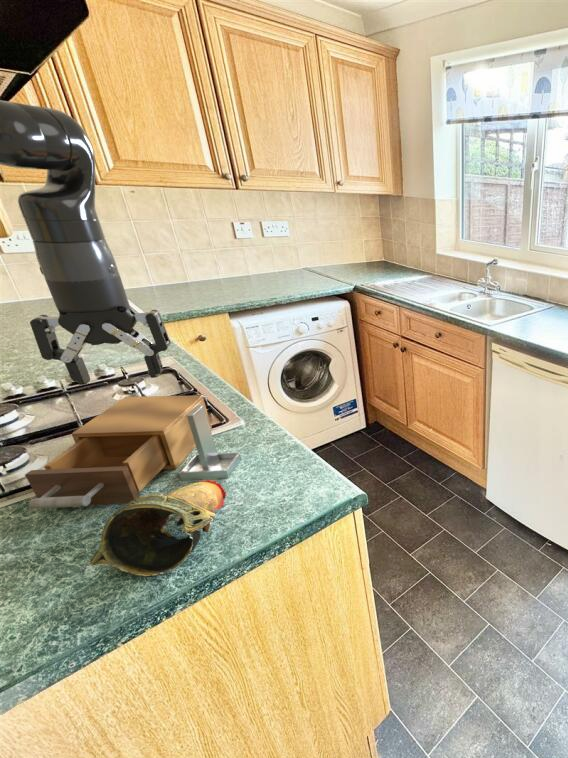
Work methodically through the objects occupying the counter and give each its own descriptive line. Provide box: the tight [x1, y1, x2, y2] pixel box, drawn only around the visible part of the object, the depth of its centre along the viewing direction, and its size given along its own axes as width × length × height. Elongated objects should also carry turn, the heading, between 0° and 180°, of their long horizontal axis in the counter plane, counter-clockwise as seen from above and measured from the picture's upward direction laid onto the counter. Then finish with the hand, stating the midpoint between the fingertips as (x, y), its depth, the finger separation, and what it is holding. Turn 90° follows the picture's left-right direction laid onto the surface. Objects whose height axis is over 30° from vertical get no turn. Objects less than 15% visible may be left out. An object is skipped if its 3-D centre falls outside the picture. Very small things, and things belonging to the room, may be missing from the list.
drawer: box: [24, 435, 169, 510], centre depth 72 cm, size 18×13×7 cm
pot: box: [88, 479, 227, 577], centre depth 64 cm, size 17×11×18 cm
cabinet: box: [71, 394, 213, 470], centre depth 84 cm, size 15×15×9 cm
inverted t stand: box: [178, 405, 242, 481], centre depth 78 cm, size 8×6×13 cm
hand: (121, 379), depth 65 cm, fingers open, 8 cm apart
